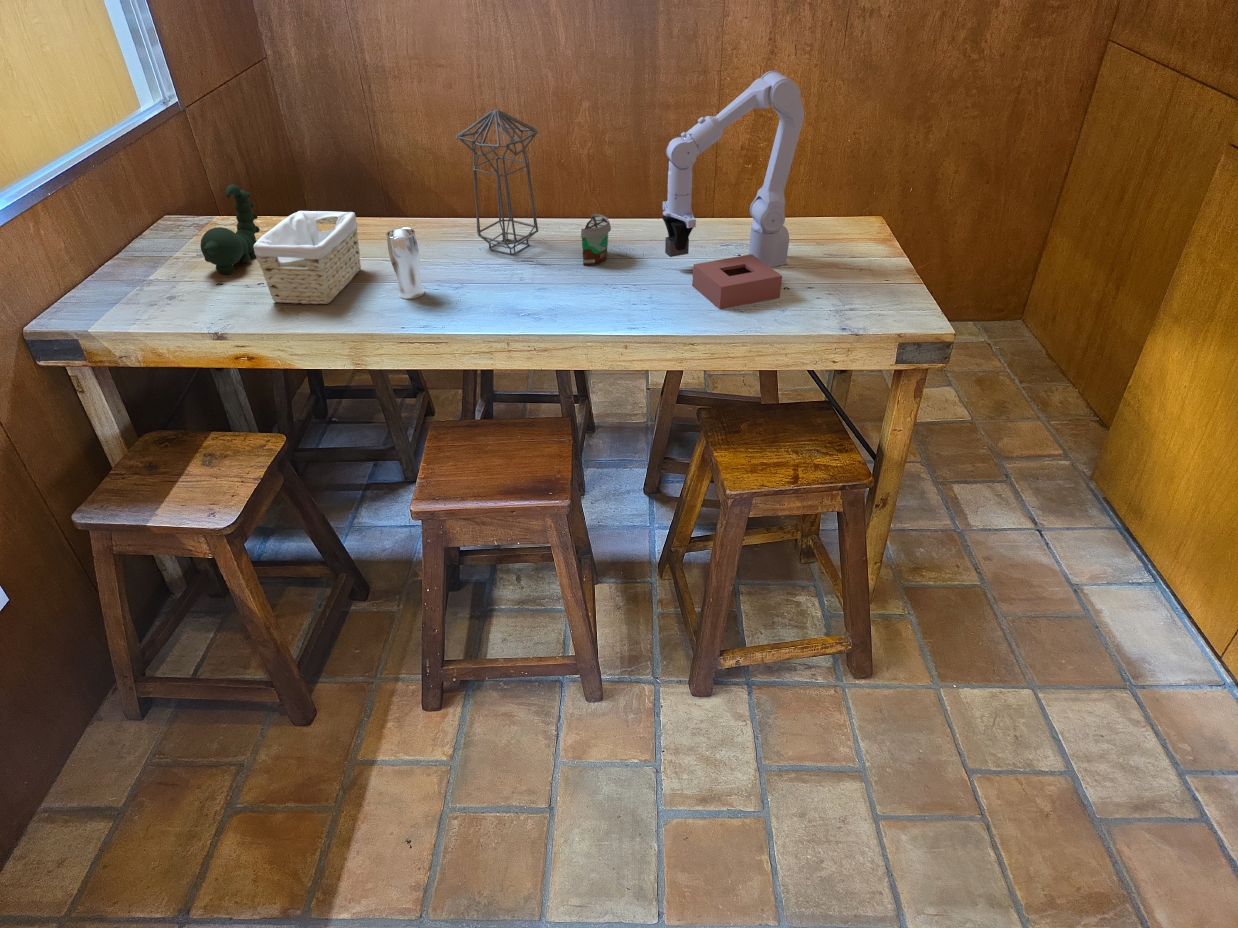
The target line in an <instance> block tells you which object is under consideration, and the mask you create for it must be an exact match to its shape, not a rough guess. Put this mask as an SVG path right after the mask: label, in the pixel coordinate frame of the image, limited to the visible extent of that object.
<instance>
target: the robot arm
mask: <svg viewBox="0 0 1238 928" xmlns="http://www.w3.org/2000/svg"><path fill="white" fill-rule="evenodd" d="M801 95H802V91H801V89H800V88H799V86H798V85H797V84H796V82H795V81H794V80H792V79H790V78H789V77H786V76H784V75H783V74H782V73H781V72H779V71H777V70H769V71H767V72H765V73H764V74H762V76H761V77H759V78H757V79H755V80H753V82H751V84H750V85H749V87H747V88H746V89H745V90H744V91H743V92H742V93H741V94H740V95H738V96H737V97H736V98H735V99H733V100H732V101H731V102H730V103H729V104H728V105H727V106H726V107H724V108H723V109H722V110H721V111H720V112H719V113H718V114H716V115H715V116H712V115H707V116H705V117H703V116H701V117H700V118H698V119H697V123H696V124H695V125H694V126H692V127H691V128H690V129H688V131H686V132H685V131H683V132H681V134H680V136H679V137H674V138H673V139H671V140H670V141H669V143H668V145H667V146H666V147H667V148H666V149H665V154H666V156H667V158H668V171H667V200H665V201H664V200H663V201H662V210H663V211H662V220H663V223H664V225H665V227H666V231H667V237H671V236H675V243H676V249H677V250H683V249H685V247H686V244H687V241H688V238H689V237H690V235H691V233H692V231H693V229H694V228H696V224H697V219H696V218H695V217H694V213H693V210H692V191H693V187H692V186H693V165H694V164H695V163H696V160H697V159H698V158H697V157H698V156H699V155H701V154H702V153H703V152H705V151H706V150H707V149H708V148H709V147H711V146H712V145H714V144H715V143H716V142H717V141H718V140H720V139H721V138H722V136H723V132H724V129H726V128H727V127H729V126H730V125H732V124H733V123H735V122H736V121H738V120H739V119H740V118H742V117H743V116H745V115H746V114H747V113H749V112H750V111H752V110H754V109H770V105H771V107H772V108H773V110H774V111H775V113H776V114H777V116H778V117H779V121H778V125H777V130H776V132H775V137H774V141H773V145H772V150H771V151H770V157H769V161H768V164H767V169H766V173H765V177H764V180H763V184H762V186H761V187H760V188H759V189H758V190H757V193H756V196H755V198H754V199H753V201H752V202H751V204H750V207H749V214H750V216H751V218H752V219H753V220H752V223H751V227H750V235H749V236H750V237H749V244H748V254H747V255H750V254H752V255H754V256H755V257H757V258H758V259H759V260H761V261H762V262H764V263H765V264H767V265H768V266H769V267H771V268H774V267H778V266H784V265H788V264H789V261H788V259H787V258H788V252H789V245H790V233H789V230H788V229H787V227H786V226H785V225H784V224H785V220H786V216H785V215H786V214H785V208H786V198H785V190H786V185H787V182H788V179H789V175H790V171H791V167H792V163H793V160H794V158H795V157H794V156H795V152H796V148H797V146H798V142H799V138H800V135H801V131H802V130H801V129H802V127H803V123H804V120H805V111H804V106H803V101H802V98H801ZM689 239H690V238H689Z"/></svg>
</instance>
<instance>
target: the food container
mask: <svg viewBox="0 0 1238 928" xmlns="http://www.w3.org/2000/svg"><path fill="white" fill-rule="evenodd" d="M611 230H612V226H611V224H610V221H609V218H608V217H607V216H605V215H603V214H599V213H591V217H590V220H588V221H587V223H586V225H585V227H584V228H581V231H580V238H581V246H582V262H583V266H584V267H585V266H586V267H591V266H592V267H593V266H598V265H601V264H603V263H605V262H606V261H607V257H608V243H609V240H608V239H609V233H610V232H611Z"/></svg>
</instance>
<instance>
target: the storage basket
mask: <svg viewBox="0 0 1238 928" xmlns="http://www.w3.org/2000/svg"><path fill="white" fill-rule="evenodd" d="M355 213H356V212H353V211H330V210H329V211H323V210H322V211H321V210H317V211H316V210H314V211H313V210H312V211H310V210H298V211H297V212H294V213H292V214H290V215H288V216H287V217H286V218H284V219H282V220H281V221H279V223H278V224H276V225H275V226H273V227H272V228H271V229H270V230H268V231H267V232H265V233H264V234H263V235H262V236H261V237H260V238H258V240H256V241H257V242H256V243H255V244H254V246H253V250H254V252H255V255H256V261H257V263H258V264H259V267H260V269H261V270H262V274H263V277H264V279H265V282H266V286H267V288H268V290H269V295H270V296H271V300H272V301H273V302H276V303H284V304H289V303H290V304H303V305H308V304H313V305H319V304H320V305H326V304H327V305H328V304H329V303H331V302H332V301H333V300H334V299H335V297H336V296H338V295H339V293H340V292H342V290H344V288H345V287H346V286H347V285H348V284H349V283H351V281H352V280H353V278H355V277H354V276H355V275H356V274H357V275H358V273H359V271H361V268H362V265H361V259H360V258H361V253H360V251H361V250H360V246H359V237H358V235H359V234H358V222H357V215H356V214H355ZM318 224H321V225H323V224H329V225H334V227H332V228H329V229H326V230H323V231H320V230H319V226H318Z"/></svg>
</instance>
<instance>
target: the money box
mask: <svg viewBox="0 0 1238 928" xmlns="http://www.w3.org/2000/svg"><path fill="white" fill-rule="evenodd" d="M782 281H783V275H782V274H781V273H780V272H778V271H776V270H775V269H773V267H769V266H768V265H767V264H765V263H764V262H762V261H761V260H759V259H758V258H757V257H755V256H754V255H752V254H750V255H748V254H745V255H740V256H733V257H728V258H723V259H716V260H711V261H706V262H700V263H699V262H698V263H694V264H693V267H692V285H691V286H692V287H693V288H694V289H695V290H696V291H698V292H699V293H700V294H701V295H702V296H703V297H704V298H706V299H707V300H708V301H709V302H710V303H712V304H713V306H715V307H716V308H717V309H718V310H722V309H729V308H733V307H734V308H735V307H738V306H739V307H740V306H744V305H749V304H754V303H760V302H765V301H770V300H774V299H779V298H780V296H781V289H782Z"/></svg>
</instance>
